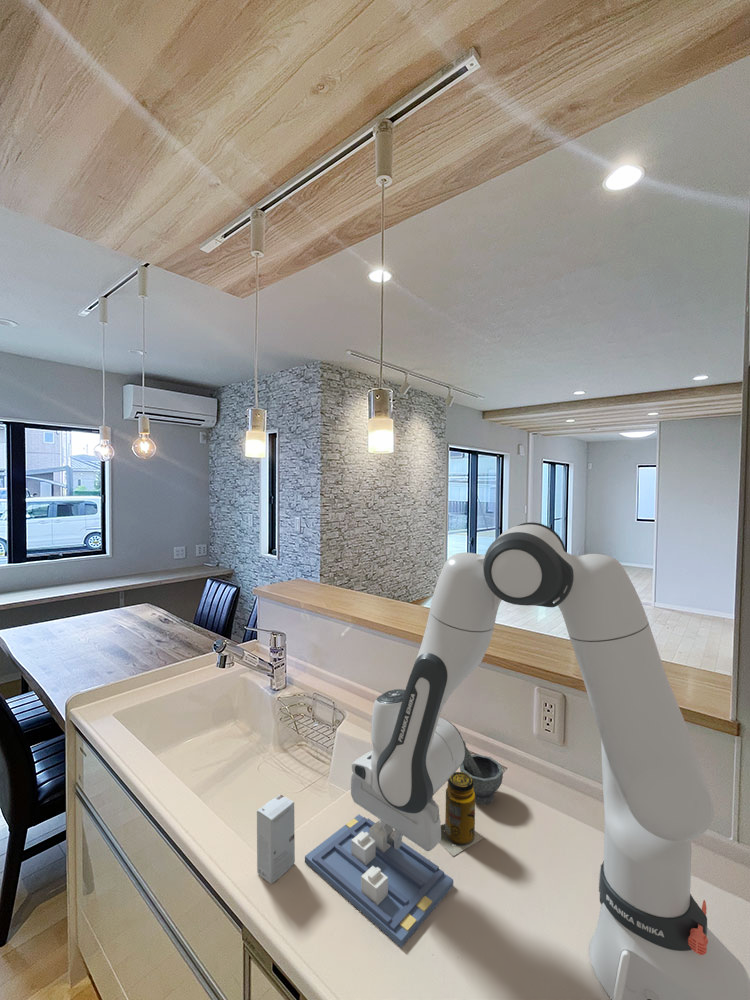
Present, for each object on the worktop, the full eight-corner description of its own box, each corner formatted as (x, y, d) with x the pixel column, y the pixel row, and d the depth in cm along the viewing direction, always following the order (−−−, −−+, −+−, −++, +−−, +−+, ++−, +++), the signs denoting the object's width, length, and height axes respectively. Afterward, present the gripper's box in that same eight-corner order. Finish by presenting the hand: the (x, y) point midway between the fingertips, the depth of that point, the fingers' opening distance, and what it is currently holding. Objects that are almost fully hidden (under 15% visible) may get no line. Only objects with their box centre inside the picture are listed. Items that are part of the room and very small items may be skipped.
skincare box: (271, 885, 83) (271, 821, 83) (255, 873, 86) (255, 810, 85) (296, 862, 88) (296, 801, 88) (280, 851, 91) (279, 792, 90)
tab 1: (392, 844, 91) (392, 825, 91) (382, 853, 89) (382, 833, 88) (379, 835, 93) (379, 816, 93) (369, 843, 91) (369, 824, 91)
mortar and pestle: (504, 788, 110) (505, 739, 109) (500, 814, 101) (500, 761, 100) (457, 776, 114) (458, 729, 113) (449, 801, 105) (450, 750, 104)
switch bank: (453, 885, 83) (453, 875, 83) (401, 947, 72) (401, 935, 72) (359, 819, 99) (359, 810, 99) (304, 862, 88) (304, 852, 88)
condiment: (483, 838, 94) (484, 782, 94) (453, 857, 90) (454, 797, 89) (458, 816, 100) (459, 763, 100) (429, 833, 96) (429, 777, 95)
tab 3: (387, 894, 80) (387, 872, 80) (376, 906, 78) (376, 884, 77) (372, 882, 82) (372, 861, 82) (361, 893, 80) (361, 871, 80)
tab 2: (375, 856, 88) (375, 836, 88) (364, 866, 86) (364, 846, 85) (362, 846, 90) (362, 827, 90) (351, 855, 88) (351, 835, 88)
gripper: (448, 791, 83) (447, 864, 84) (367, 747, 97) (366, 810, 98) (428, 809, 79) (427, 887, 79) (345, 760, 92) (345, 826, 93)
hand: (393, 844), depth 89 cm, fingers closed
